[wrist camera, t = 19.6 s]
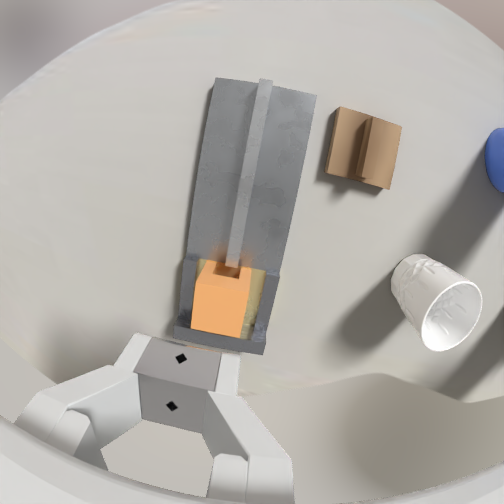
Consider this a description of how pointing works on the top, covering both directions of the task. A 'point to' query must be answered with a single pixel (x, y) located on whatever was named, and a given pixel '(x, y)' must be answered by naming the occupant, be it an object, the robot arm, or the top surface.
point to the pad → (363, 148)
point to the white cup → (436, 301)
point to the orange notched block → (220, 301)
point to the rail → (245, 199)
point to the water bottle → (495, 158)
